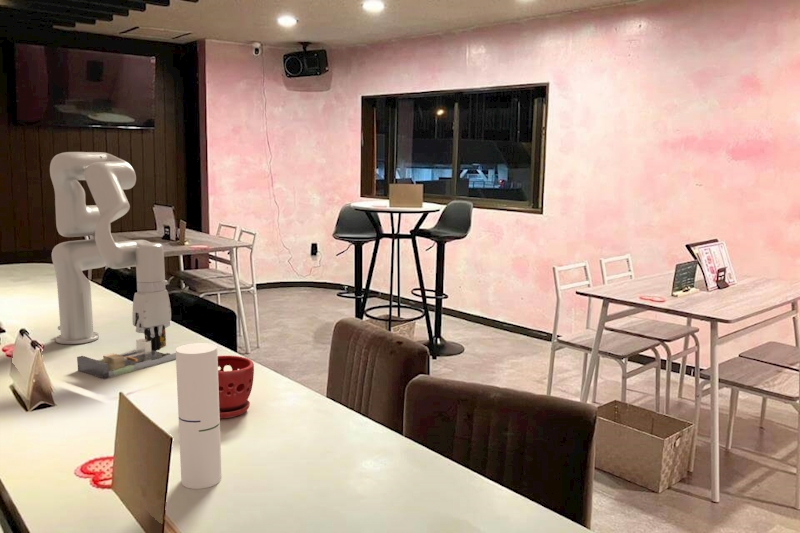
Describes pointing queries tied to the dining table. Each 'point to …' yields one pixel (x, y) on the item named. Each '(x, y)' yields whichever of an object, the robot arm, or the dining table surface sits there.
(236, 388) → the plant pot
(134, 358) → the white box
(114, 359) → the beech block
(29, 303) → the dining table surface
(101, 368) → the tray
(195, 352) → the cylindrical container
